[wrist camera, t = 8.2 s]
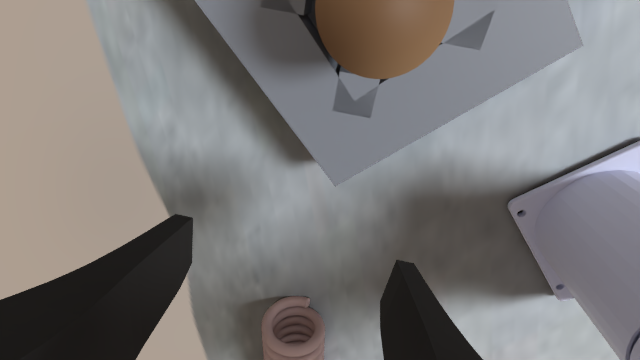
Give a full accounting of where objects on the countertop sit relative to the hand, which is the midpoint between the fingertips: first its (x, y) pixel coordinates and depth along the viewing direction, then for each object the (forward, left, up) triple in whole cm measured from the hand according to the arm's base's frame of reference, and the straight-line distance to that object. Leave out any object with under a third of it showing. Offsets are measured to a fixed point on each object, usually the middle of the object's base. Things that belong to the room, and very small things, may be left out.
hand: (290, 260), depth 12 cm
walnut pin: (+5, -7, -9) cm, 12 cm away
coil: (-16, +14, -10) cm, 24 cm away
